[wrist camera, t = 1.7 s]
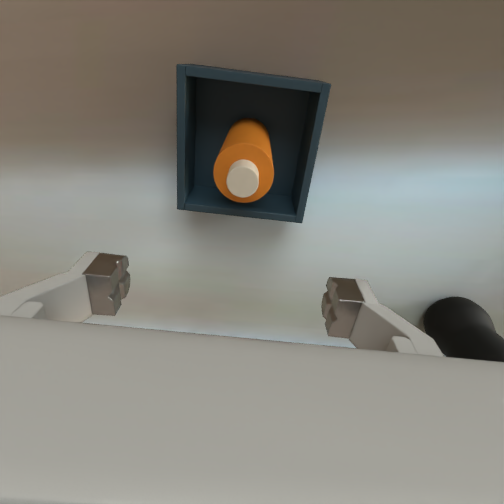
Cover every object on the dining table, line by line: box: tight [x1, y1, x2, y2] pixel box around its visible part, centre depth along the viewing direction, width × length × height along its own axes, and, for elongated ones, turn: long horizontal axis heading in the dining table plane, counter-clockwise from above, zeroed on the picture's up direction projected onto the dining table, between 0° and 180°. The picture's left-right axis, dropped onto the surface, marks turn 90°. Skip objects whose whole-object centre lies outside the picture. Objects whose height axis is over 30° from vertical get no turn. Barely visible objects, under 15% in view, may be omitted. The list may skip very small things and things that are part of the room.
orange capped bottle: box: [213, 118, 274, 203], centre depth 30 cm, size 5×5×15 cm
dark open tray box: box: [177, 64, 331, 223], centre depth 34 cm, size 14×14×7 cm
